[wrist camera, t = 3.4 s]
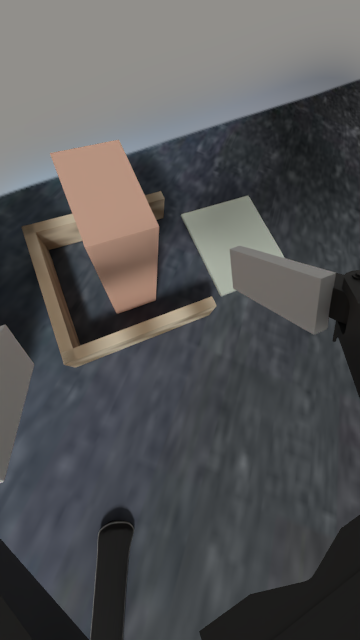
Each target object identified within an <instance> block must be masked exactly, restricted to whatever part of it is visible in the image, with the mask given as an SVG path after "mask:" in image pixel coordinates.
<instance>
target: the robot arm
mask: <svg viewBox="0 0 360 640" xmlns="http://www.w3.org/2000/svg"><path fill="white" fill-rule="evenodd" d="M230 259H231V270H232V281H233V289H235V290H237V291H238V292H240V293H242V294H244V295H245V296H247V297H249V298H251V299H252V300H254V301H256V302H258V303H259V304H261V305H263V306H265V307H266V308H268V309H270V310H272V311H273V312H275V313H277V314H279V315H280V316H282V317H284V318H286V319H287V320H289V321H291V322H292V323H294V324H296V325H298V326H299V327H301V328H303V329H305V330H306V331H308V332H310V333H312V334H313V335H315V334H317V333H319V332H321V331H324V330H326V329H327V327H328V321H329V317H330V318H332V319H334V320H336V324H335V330H334V335H333V341H334V342H336V338H337V337H338V338H339V340H340V343H341V346H342V349H343V352H344V355H345V358H346V360H347V363H348V366H349V369H350V372H351V375H352V377H353V380H354V383H355V386H356V389H357V392H358V395H359V397H360V270H357V271H351V272H348V273H346V274H345V275H342V274H338V273H335V272H331V271H328V270H324V269H321V268H317V267H314V266H310V265H307V264H303V263H300V262H296V261H293V260H289V259H286V258H282V257H279V256H275V255H272V254H268V253H265V252H261V251H258V250H254V249H251V248H247V247H244V246H237V247H234V248H231V249H230ZM33 367H34V363H33V362H32V360H31V359H30V358H29V356H28V355H27V354H26V352H25V351H24V349H23V348H22V347H21V345H20V344H19V342H18V341H17V340H16V338H15V337H14V335H13V334H12V333H11V331H10V330H9V329H8V327H7V326H6V324H5V325H2V326H0V483H2V482H4V480H5V476H6V472H7V468H8V464H9V460H10V456H11V453H12V449H13V445H14V441H15V437H16V433H17V429H18V425H19V421H20V418H21V414H22V410H23V406H24V402H25V398H26V394H27V390H28V387H29V383H30V379H31V375H32V371H33ZM199 632H200V636H201V639H202V640H360V515H359V516H358V517H356V518H355V519H353V520H352V521H351V522H349V523H348V524H347V525H345V526H344V527H342V528H341V529H340V531H339V533H338V534H337V536H336V538H335V540H334V541H333V543H332V545H331V546H330V548H329V550H328V551H327V553H326V555H325V557H324V558H323V560H322V562H321V563H320V565H319V567H318V569H317V570H316V572H315V574H314V575H313V576H312V578H310V579H309V580H307V581H305V582H301V583H296V584H292V585H288V586H284V587H279V588H275V589H271V590H267V591H262V592H258V593H254V594H250V595H249V596H247V597H246V598H245V599H243V600H242V601H240V602H239V603H238V604H236V605H235V606H234V607H232V608H231V609H229V610H228V611H227V612H225V613H224V614H223V615H221V616H220V617H218V618H217V619H216V620H214V621H213V622H212V623H210V624H209V625H207V626H206V627H205V628H203V629H202V630H201V631H199ZM0 640H89V639H88V638H87V637H86V636H85V635H84V634H83V632H82V631H81V630H80V629H79V628H78V627H77V626H76V624H75V623H74V622H73V621H72V620H71V619H70V618H69V616H68V615H67V614H66V613H65V612H64V611H63V610H62V608H61V607H60V606H59V605H58V604H57V603H56V602H55V600H54V599H53V598H52V597H51V596H50V595H49V594H48V593H47V591H46V590H45V589H44V588H43V587H42V586H41V585H40V583H39V582H38V581H37V580H36V579H35V578H34V577H33V575H32V574H31V573H30V572H29V571H28V570H27V569H26V567H25V566H24V565H23V564H22V563H21V562H20V561H19V560H18V558H17V557H16V556H15V555H14V554H13V553H12V552H11V550H10V549H9V548H8V547H7V546H6V545H5V544H4V542H3V541H2V540H1V539H0Z"/></svg>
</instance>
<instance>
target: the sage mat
mask: <svg viewBox="0 0 360 640" xmlns="http://www.w3.org/2000/svg"><path fill="white" fill-rule="evenodd" d="M181 217H182V219H183V221H184V223H185V225H186V227H187V229H188V231H189V233H190V235H191V237H192V239H193V241H194V244H195V246H196V248H197V250H198V252H199V254H200V256H201V258H202V260H203V262H204V264H205V266H206V268H207V270H208V272H209V274H210V276H211V278H212V280H213V282H214V284H215V286H216V288H217V290H218V292H219V294H220V296H224V295H226V294H229V293H232V292H234V291H237V290H235V289H233V281H232V270H231V259H230V249H231V248H234V247H237V246H244V247H247V248H251V249H254V250H258V251H261V252H265V253H268V254H272V255H275V256H279V257H282V258H285V257H284V256H283V254H282V252H281V251H280V249H279V247H278V245H277V244H276V242H275V240H274V239H273V237H272V235H271V233H270V232H269V230H268V228H267V227H266V225H265V223H264V221H263V220H262V218H261V216H260V215H259V213H258V211H257V209H256V208H255V206H254V204H253V203H252V201H251V199H250V197H249V196H244V197H241V198H237V199H234V200H230V201H227V202H223V203H220V204H216V205H213V206H209V207H205V208H202V209H198V210H195V211H191V212H188V213H184V214H181Z"/></svg>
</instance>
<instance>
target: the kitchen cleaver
mask: <svg viewBox="0 0 360 640" xmlns="http://www.w3.org/2000/svg"><path fill="white" fill-rule="evenodd" d="M133 533H134V528H133V526H132V525H131V523H129V522H127V521H121V520H117V521H111V522H109V523H107V524H106V525H104V526H103V527H102V528H101V530H100V531H99V534H98V548H97V564H96V576H95V589H94V602H93V614H92V625H91V635H90V640H123V626H124V611H125V597H126V583H127V570H128V559H129V551H130V545H131V541H132V537H133Z"/></svg>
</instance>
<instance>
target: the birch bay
mask: <svg viewBox="0 0 360 640" xmlns="http://www.w3.org/2000/svg"><path fill="white" fill-rule="evenodd" d="M145 197H146V199H147V201H148V204H149V206H150V208H151V210H152V212H153V214H154V216H155V219H156V220H158V219H162V218H163V215H164V200H165V198H164V196H163V194H162V192H161V191H160V192H156V193H152V194H148V195H145ZM22 230H23V233H24V237H25V240H26V243H27V246H28V250H29V253H30V256H31V259H32V263H33V266H34V269H35V272H36V275H37V279H38V282H39V285H40V288H41V292H42V295H43V298H44V301H45V305H46V308H47V311H48V314H49V317H50V321H51V324H52V327H53V330H54V334H55V337H56V340H57V343H58V347H59V350H60V353H61V356H62V359H63V363H64V365H68V366H72V367H78V366H81V365H83V364H86V363H88V362H91V361H93V360H96V359H98V358H101V357H103V356H106V355H109V354H111V353H114V352H116V351H119V350H121V349H124V348H126V347H129V346H131V345H134V344H137V343H139V342H142V341H144V340H147V339H149V338H152V337H154V336H157V335H159V334H162V333H165V332H167V331H170V330H172V329H175V328H177V327H180V326H182V325H185V324H187V323H190V322H193V321H195V320H198V319H200V318H203V317H205V316H208V315H210V313H211V312H212V311H213V309H214V308H215V307H216V304H215V301H214V299H213V297H212V296H211V297H209V298H206V299H203V300H201V301H198V302H195V303H193V304H190V305H187V306H185V307H182V308H179V309H177V310H174V311H171V312H169V313H166V314H163V315H161V316H158V317H155V318H153V319H150V320H147V321H145V322H142V323H139V324H137V325H134V326H131V327H129V328H126V329H123V330H121V331H118V332H115V333H113V334H110V335H107V336H105V337H102V338H99V339H97V340H94V341H91V342H89V343H86V344H83V345H81V346H80V343H79V340H78V337H77V334H76V331H75V328H74V325H73V322H72V319H71V316H70V313H69V310H68V307H67V304H66V301H65V298H64V295H63V292H62V289H61V285H60V282H59V279H58V276H57V273H56V270H55V267H54V264H53V261H52V258H51V255H50V252H49V250H51V249H55V248H58V247H62V246H65V245H69V244H73V243H76V242H80V241H82V238H81V235H80V233H79V230H78V227H77V225H76V222H75V219H74V216H73V214H69V215H65V216H61V217H57V218H53V219H49V220H45V221H42V222H38V223H34V224H30V225H26V226H22Z"/></svg>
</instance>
